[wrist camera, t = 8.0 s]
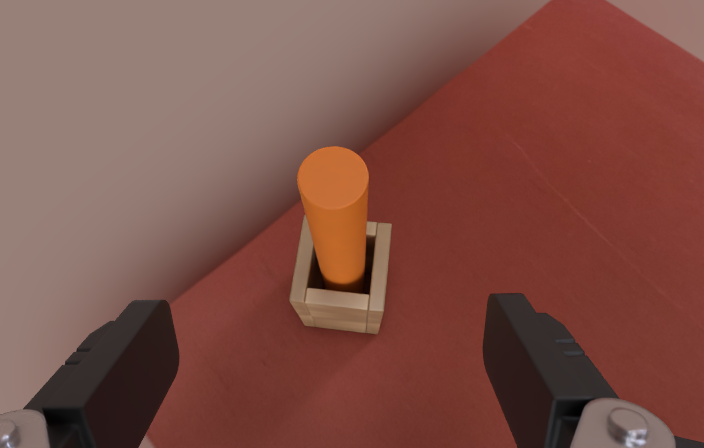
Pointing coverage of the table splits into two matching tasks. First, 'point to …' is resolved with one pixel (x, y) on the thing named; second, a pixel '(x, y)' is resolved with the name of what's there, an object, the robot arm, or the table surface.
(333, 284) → the orange rod
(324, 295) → the stand
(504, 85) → the table surface
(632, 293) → the table surface
